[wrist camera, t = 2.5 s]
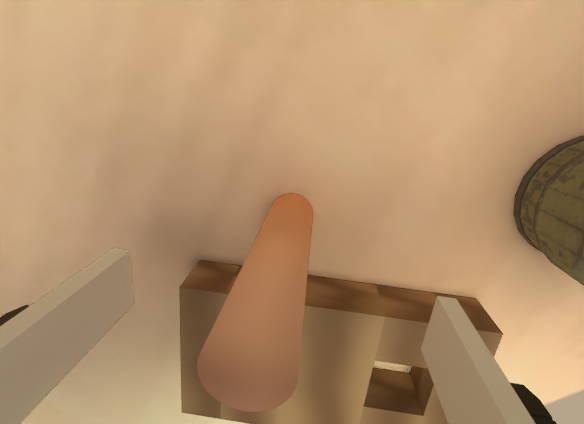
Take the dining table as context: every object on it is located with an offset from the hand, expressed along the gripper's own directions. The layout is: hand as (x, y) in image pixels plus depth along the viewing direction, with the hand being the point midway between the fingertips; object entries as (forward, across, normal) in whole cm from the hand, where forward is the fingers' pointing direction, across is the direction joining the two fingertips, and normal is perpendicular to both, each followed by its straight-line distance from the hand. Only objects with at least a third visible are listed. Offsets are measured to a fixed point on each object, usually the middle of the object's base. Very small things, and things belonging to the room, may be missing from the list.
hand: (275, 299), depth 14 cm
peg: (+11, 0, 0) cm, 11 cm away
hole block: (+11, -4, +11) cm, 16 cm away
